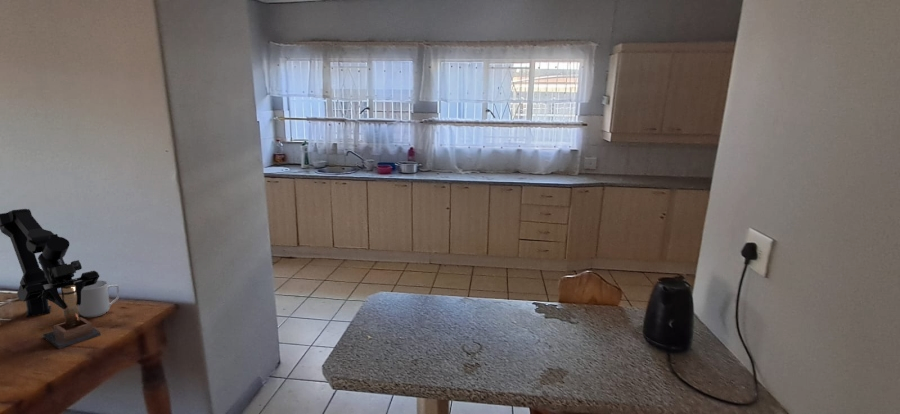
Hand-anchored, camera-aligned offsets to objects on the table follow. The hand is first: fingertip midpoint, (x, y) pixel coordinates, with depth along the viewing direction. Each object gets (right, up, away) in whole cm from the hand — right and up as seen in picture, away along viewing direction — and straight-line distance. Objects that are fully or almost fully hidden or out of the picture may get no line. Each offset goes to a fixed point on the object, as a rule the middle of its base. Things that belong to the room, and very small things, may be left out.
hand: (72, 306), depth 141 cm
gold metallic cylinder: (-2, -6, +2) cm, 7 cm away
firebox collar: (-2, -10, +3) cm, 11 cm away
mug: (-7, -7, +20) cm, 22 cm away
